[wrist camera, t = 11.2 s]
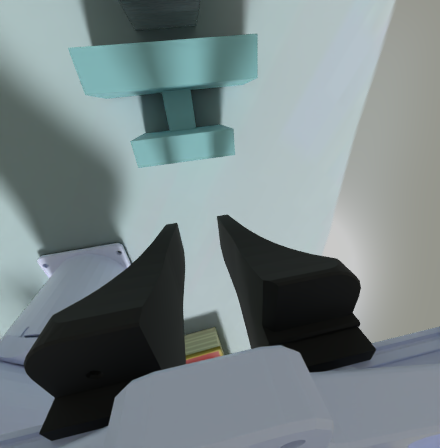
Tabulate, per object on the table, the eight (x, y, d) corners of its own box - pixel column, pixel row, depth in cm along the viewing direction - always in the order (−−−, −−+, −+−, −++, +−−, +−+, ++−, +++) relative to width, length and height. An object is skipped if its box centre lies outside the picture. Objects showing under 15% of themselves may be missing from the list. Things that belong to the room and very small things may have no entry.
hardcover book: (179, 397, 40) (179, 426, 36) (138, 343, 29) (132, 375, 26) (236, 381, 41) (241, 407, 37) (216, 322, 30) (221, 350, 26)
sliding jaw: (244, 141, 17) (265, 150, 13) (125, 156, 16) (104, 172, 12) (241, 50, 14) (267, 23, 10) (94, 62, 13) (51, 38, 9)
